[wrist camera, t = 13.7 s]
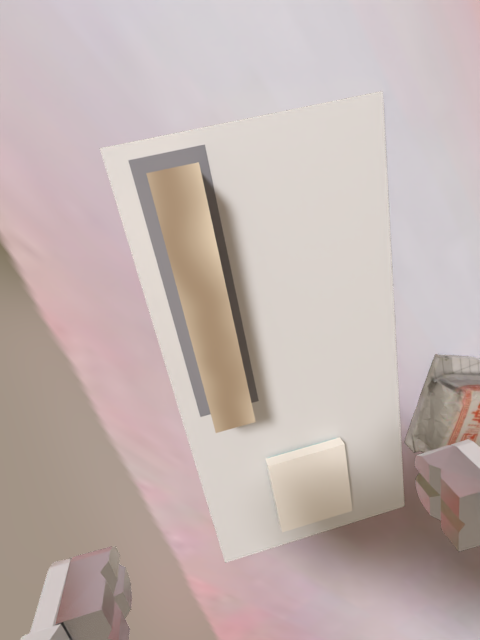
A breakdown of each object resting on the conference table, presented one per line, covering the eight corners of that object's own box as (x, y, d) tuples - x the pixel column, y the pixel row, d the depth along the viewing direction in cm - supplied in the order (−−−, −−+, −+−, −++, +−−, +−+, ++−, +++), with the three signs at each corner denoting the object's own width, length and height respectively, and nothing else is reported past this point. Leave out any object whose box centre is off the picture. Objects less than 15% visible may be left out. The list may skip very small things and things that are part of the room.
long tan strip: (193, 163, 26) (198, 162, 22) (245, 393, 33) (255, 421, 29) (148, 173, 26) (146, 173, 22) (209, 403, 33) (215, 433, 29)
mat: (379, 92, 27) (383, 90, 27) (402, 503, 41) (404, 506, 41) (100, 148, 25) (99, 148, 25) (224, 559, 39) (225, 563, 39)
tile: (344, 444, 35) (352, 510, 38) (338, 435, 36) (346, 500, 39) (268, 466, 34) (282, 532, 37) (264, 456, 36) (278, 521, 38)
